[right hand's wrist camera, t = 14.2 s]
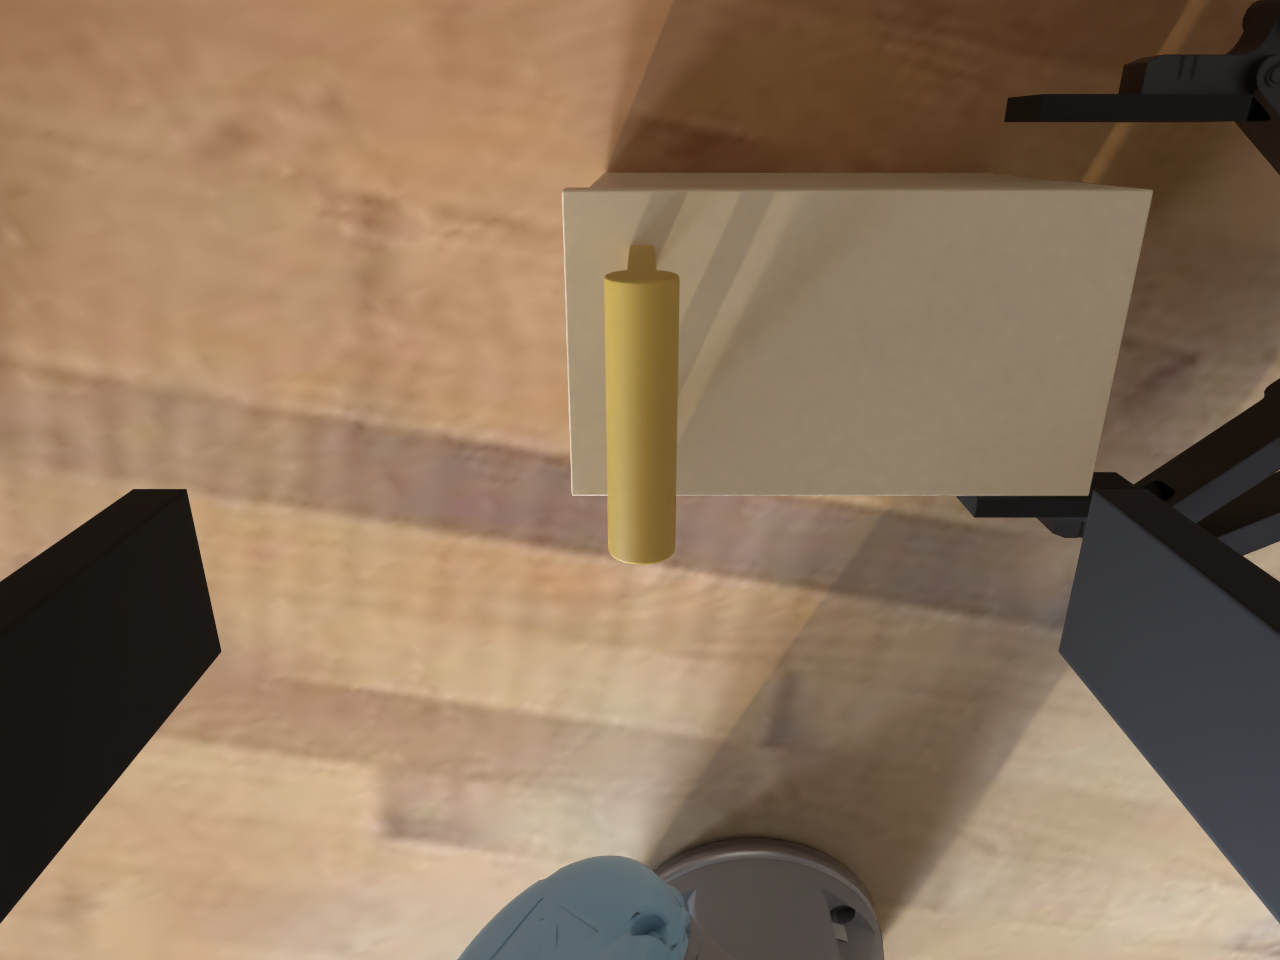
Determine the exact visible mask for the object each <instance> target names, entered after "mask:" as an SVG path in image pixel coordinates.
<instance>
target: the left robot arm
mask: <svg viewBox="0 0 1280 960" xmlns="http://www.w3.org/2000/svg"><path fill="white" fill-rule="evenodd" d="M1242 27H1243V30H1244V32H1243V34H1242V36H1241V38H1240V39H1239V41H1238V43H1237V44H1236V45H1235V47H1234V48H1233V49H1232V50H1231V51H1230V52H1228V53H1227V54H1225V55H1159V56H1153V57H1146V58H1140V59H1138V60H1136V61H1133V62H1131V63H1128V64H1126V65H1124V68H1123V73H1122V78H1121V83H1120V89H1119V94H1041V95H1031V96H1022V97H1013V98H1008V101H1007V108H1006V114H1005V121H1004V122H1221V121H1234V122H1235V123H1236V124H1237V125H1238V126H1239V127H1240V129H1241V130H1242V131H1243V132H1244V133H1245V135H1246V136H1247V137H1248V138H1249V139H1250V140H1251V142H1252V143H1253V144H1254V145H1255V146H1256V148H1257V149H1258V150H1259V151H1260V152H1261V153H1262V155H1263V156H1264V157H1265V158H1266V159H1267V161H1268V162H1269V163H1270V164H1271V165H1272V166H1273V168H1274V169H1275V170H1276V171H1277V172H1278V174H1279V175H1280V0H1258V1H1257V2H1255V3H1253V4H1252V5H1251V6H1250V7H1249V8H1248V9H1247V11H1246V13H1245V15H1244V17H1243V24H1242ZM1278 470H1280V379H1278V380H1277V381H1275V382H1273V383H1272V384H1270V385H1269V386H1268V387H1267V388H1266V389H1265V391H1264V398H1263V399H1262V400H1261V401H1259V402H1258V403H1256V404H1255V405H1253V406H1252V407H1250V408H1249V409H1247V410H1246V411H1244V412H1243V413H1241V414H1240V415H1238V416H1237V417H1235V418H1233V419H1232V420H1230V421H1229V422H1227V423H1226V424H1224V425H1223V426H1221V427H1220V428H1218V429H1217V430H1215V431H1214V432H1212V433H1211V434H1209V435H1208V436H1206V437H1205V438H1203V439H1202V440H1200V441H1199V442H1197V443H1196V444H1194V445H1193V446H1191V447H1190V448H1188V449H1187V450H1185V451H1184V452H1182V453H1181V454H1179V455H1178V456H1176V457H1175V458H1173V459H1172V460H1170V461H1169V462H1167V463H1166V464H1164V465H1163V466H1161V467H1159V468H1158V469H1156V470H1155V471H1153V472H1152V473H1150V474H1149V475H1147V476H1146V477H1144V478H1143V479H1141V480H1140V481H1138V482H1137V483H1135V484H1134V485H1133V484H1132V483H1130V482H1129V481H1127V480H1126V479H1125V478H1123V477H1122V476H1120V475H1119V474H1118V473H1116V472H1093V477H1092V481H1091V486H1090V491H1089V495H1088V496H956V497H957V498H958V499H959V500H960V501H961V503H962V504H963V505H964V506H965V507H966V508H967V509H968V511H969V512H970V513H971V514H972V515H973V516H974V517H1037V519H1038V520H1039V521H1040V522H1042V523H1043V524H1044V525H1045V526H1046V527H1047V528H1048V529H1049V530H1050V531H1051V532H1052V533H1054V534H1056V535H1059V536H1061V537H1064V538H1078V537H1081V538H1083V536H1084V531H1085V527H1086V522H1087V517H1088V513H1089V508H1090V503H1091V499H1092V494H1093V489H1147V490H1148V491H1150V492H1151V493H1153V494H1154V495H1156V496H1157V497H1158V498H1160V499H1161V500H1163V501H1164V502H1166V503H1167V504H1168V505H1170V506H1171V507H1173V508H1174V509H1176V510H1177V511H1179V512H1180V513H1181V514H1183V515H1184V516H1186V517H1187V518H1189V519H1190V520H1192V521H1193V522H1194V523H1196V524H1197V525H1199V526H1200V527H1202V528H1203V529H1204V530H1206V531H1207V532H1209V533H1210V534H1212V535H1213V536H1215V537H1216V538H1217V539H1219V540H1220V541H1222V542H1223V543H1225V544H1226V545H1227V546H1229V547H1230V548H1232V549H1233V550H1235V551H1236V552H1238V553H1239V554H1240V555H1242V556H1243V555H1246V554H1248V553H1251V552H1253V551H1256V550H1258V549H1261V548H1263V547H1266V546H1268V545H1271V544H1273V543H1276V542H1279V541H1280V471H1279V472H1277V471H1278ZM1275 472H1276V473H1275ZM457 960H884V952H883V940H882V935H881V930H880V927H879V923H878V920H877V917H876V913H875V910H874V907H873V904H872V901H871V899H870V897H869V895H868V893H867V891H866V890H865V888H864V887H863V885H862V884H861V883H860V882H859V880H858V879H857V878H856V877H855V876H854V875H853V874H852V873H851V872H850V871H849V870H848V869H847V868H845V867H844V866H843V865H841V864H840V863H839V862H837V861H836V860H834V859H832V858H831V857H829V856H827V855H825V854H823V853H821V852H819V851H817V850H814V849H811V848H809V847H806V846H803V845H799V844H796V843H792V842H787V841H782V840H774V839H762V838H745V839H733V840H725V841H720V842H715V843H711V844H707V845H704V846H700V847H697V848H695V849H692V850H689V851H687V852H685V853H682V854H680V855H678V856H676V857H674V858H672V859H671V860H669V861H667V862H666V863H664V864H663V865H661V866H660V867H658V868H657V869H656V870H654V871H652V870H651V869H650V868H648V867H647V866H645V865H644V864H642V863H640V862H639V861H636V860H633V859H631V858H626V857H622V856H598V857H592V858H588V859H584V860H581V861H578V862H575V863H572V864H569V865H567V866H565V867H563V868H561V869H559V870H558V871H557V872H555V873H554V874H552V875H551V876H549V877H548V878H546V879H543V880H539V881H538V882H536V883H535V884H533V885H532V886H530V887H529V888H527V889H526V890H525V891H523V892H522V893H521V894H520V895H518V896H517V897H516V898H515V899H513V900H512V901H511V902H510V903H509V904H507V905H506V906H505V907H504V908H503V909H502V910H501V911H500V912H499V913H498V914H497V915H496V916H495V917H494V918H493V919H492V920H491V921H490V922H489V923H488V924H487V925H486V926H485V927H484V928H483V929H482V930H481V931H480V932H479V934H478V935H477V936H476V937H475V938H474V939H473V940H472V942H471V943H470V944H469V945H468V947H467V948H466V949H465V950H464V952H463V953H462V954H461V956H460V957H459V958H458V959H457Z"/></svg>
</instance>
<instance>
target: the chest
mask: <svg viewBox="0 0 1280 960" xmlns="http://www.w3.org/2000/svg"><path fill="white" fill-rule="evenodd" d="M590 188H1129V187H1120V186H1111V185H1101V184H1091V183H1082V182H1072V181H1062V180H1052V179H1043V178H1033V177H1023V176H1014V175H1004V174H993V173H604V174H603V175H602V176H601V177H600V178H599V179H598V180H597V181H596V182H595V183H594V184H593V185H592V186H591V187H590Z"/></svg>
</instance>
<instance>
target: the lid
mask: <svg viewBox="0 0 1280 960" xmlns="http://www.w3.org/2000/svg"><path fill="white" fill-rule="evenodd" d="M1152 195H1153V190H1150V189H1140V188H565V189H564V190H562V210H563V241H564V271H565V302H566V333H567V364H568V395H569V425H570V456H571V487H572V495H595V496H607V497H608V549H609V552H610V554H611V555H612V556H613V557H614V558H615V559H617V560H619V561H622V562H625V563H630V564H640V565H643V564H654V563H658V562H662V561H664V560H666V559H668V558H669V557H671V556H672V554H673V553H674V551H675V527H676V496H1088V495H1089V491H1090V486H1091V481H1092V477H1093V472H1094V467H1095V463H1096V458H1097V453H1098V449H1099V444H1100V439H1101V434H1102V430H1103V425H1104V420H1105V416H1106V411H1107V406H1108V402H1109V397H1110V392H1111V388H1112V383H1113V378H1114V373H1115V369H1116V364H1117V359H1118V355H1119V350H1120V345H1121V341H1122V336H1123V331H1124V327H1125V322H1126V317H1127V313H1128V308H1129V303H1130V298H1131V294H1132V289H1133V284H1134V280H1135V275H1136V270H1137V266H1138V261H1139V256H1140V252H1141V247H1142V242H1143V238H1144V233H1145V228H1146V223H1147V219H1148V214H1149V209H1150V205H1151V200H1152Z"/></svg>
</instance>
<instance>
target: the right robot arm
mask: <svg viewBox="0 0 1280 960" xmlns="http://www.w3.org/2000/svg"><path fill="white" fill-rule="evenodd" d="M220 653H221V648H220V643H219V638H218V634H217V629H216V624H215V620H214V615H213V610H212V606H211V601H210V596H209V592H208V587H207V582H206V578H205V573H204V569H203V564H202V559H201V555H200V550H199V545H198V541H197V536H196V531H195V527H194V522H193V517H192V513H191V508H190V503H189V499H188V494H187V489H133V490H132V491H130V492H129V493H127V494H126V495H124V496H123V497H122V498H120V499H119V500H117V501H116V502H114V503H113V504H112V505H110V506H109V507H107V508H106V509H104V510H103V511H101V512H100V513H99V514H97V515H96V516H94V517H93V518H91V519H90V520H88V521H87V522H86V523H84V524H83V525H81V526H80V527H78V528H77V529H76V530H74V531H73V532H71V533H70V534H68V535H67V536H65V537H64V538H63V539H61V540H60V541H58V542H57V543H55V544H54V545H53V546H51V547H50V548H48V549H47V550H45V551H44V552H42V553H41V554H40V555H38V556H37V557H35V558H34V559H32V560H31V561H30V562H28V563H27V564H25V565H24V566H22V567H21V568H19V569H18V570H17V571H15V572H14V573H12V574H11V575H9V576H8V577H7V578H5V579H4V580H2V581H1V582H0V923H1V922H2V921H3V920H4V918H5V917H6V916H7V915H8V913H9V912H10V911H11V910H12V908H13V907H14V906H15V905H16V904H17V902H18V901H19V900H20V899H21V897H22V896H23V895H24V894H25V892H26V891H27V890H28V889H29V888H30V886H31V885H32V884H33V883H34V881H35V880H36V879H37V878H38V876H39V875H40V874H41V873H42V872H43V870H44V869H45V868H46V867H47V865H48V864H49V863H50V862H51V860H52V859H53V858H54V857H55V856H56V854H57V853H58V852H59V851H60V849H61V848H62V847H63V846H64V845H65V843H66V842H67V841H68V840H69V838H70V837H71V836H72V835H73V833H74V832H75V831H76V830H77V829H78V827H79V826H80V825H81V824H82V822H83V821H84V820H85V819H86V817H87V816H88V815H89V814H90V813H91V811H92V810H93V809H94V808H95V806H96V805H97V804H98V803H99V801H100V800H101V799H102V798H103V797H104V795H105V794H106V793H107V792H108V790H109V789H110V788H111V787H112V786H113V784H114V783H115V782H116V781H117V779H118V778H119V777H120V776H121V774H122V773H123V772H124V771H125V770H126V768H127V767H128V766H129V765H130V763H131V762H132V761H133V760H134V758H135V757H136V756H137V755H138V754H139V752H140V751H141V750H142V749H143V747H144V746H145V745H146V744H147V742H148V741H149V740H150V739H151V738H152V736H153V735H154V734H155V733H156V731H157V730H158V729H159V728H160V726H161V725H162V724H163V723H164V722H165V720H166V719H167V718H168V717H169V715H170V714H171V713H172V712H173V711H174V709H175V708H176V707H177V706H178V704H179V703H180V702H181V701H182V699H183V698H184V697H185V696H186V695H187V693H188V692H189V691H190V690H191V688H192V687H193V686H194V685H195V683H196V682H197V681H198V680H199V679H200V677H201V676H202V675H203V674H204V672H205V671H206V670H207V669H208V667H209V666H210V665H211V664H212V663H213V661H214V660H215V659H216V658H217V656H218V655H219V654H220ZM1059 653H1060V654H1061V655H1062V656H1063V658H1064V659H1065V660H1066V661H1067V663H1068V664H1069V665H1070V666H1071V667H1072V669H1073V670H1074V671H1075V672H1076V674H1077V675H1078V676H1079V677H1080V679H1081V680H1082V681H1083V682H1084V683H1085V685H1086V686H1087V687H1088V688H1089V690H1090V691H1091V692H1092V693H1093V695H1094V696H1095V697H1096V698H1097V699H1098V701H1099V702H1100V703H1101V704H1102V706H1103V707H1104V708H1105V709H1106V711H1107V712H1108V713H1109V714H1110V715H1111V717H1112V718H1113V719H1114V720H1115V722H1116V723H1117V724H1118V725H1119V726H1120V728H1121V729H1122V730H1123V731H1124V733H1125V734H1126V735H1127V736H1128V738H1129V739H1130V740H1131V741H1132V742H1133V744H1134V745H1135V746H1136V747H1137V749H1138V750H1139V751H1140V752H1141V754H1142V755H1143V756H1144V757H1145V758H1146V760H1147V761H1148V762H1149V763H1150V765H1151V766H1152V767H1153V768H1154V770H1155V771H1156V772H1157V773H1158V774H1159V776H1160V777H1161V778H1162V779H1163V781H1164V782H1165V783H1166V784H1167V786H1168V787H1169V788H1170V789H1171V790H1172V792H1173V793H1174V794H1175V795H1176V797H1177V798H1178V799H1179V800H1180V801H1181V803H1182V804H1183V805H1184V806H1185V808H1186V809H1187V810H1188V811H1189V813H1190V814H1191V815H1192V816H1193V817H1194V819H1195V820H1196V821H1197V822H1198V824H1199V825H1200V826H1201V827H1202V829H1203V830H1204V831H1205V832H1206V833H1207V835H1208V836H1209V837H1210V838H1211V840H1212V841H1213V842H1214V843H1215V845H1216V846H1217V847H1218V848H1219V849H1220V851H1221V852H1222V853H1223V854H1224V856H1225V857H1226V858H1227V859H1228V861H1229V862H1230V863H1231V864H1232V865H1233V867H1234V868H1235V869H1236V870H1237V872H1238V873H1239V874H1240V875H1241V876H1242V878H1243V879H1244V880H1245V881H1246V883H1247V884H1248V885H1249V886H1250V888H1251V889H1252V890H1253V891H1254V892H1255V894H1256V895H1257V896H1258V897H1259V899H1260V900H1261V901H1262V902H1263V904H1264V905H1265V906H1266V907H1267V908H1268V910H1269V911H1270V912H1271V913H1272V915H1273V916H1274V917H1275V918H1276V920H1277V921H1278V922H1279V923H1280V582H1279V581H1278V580H1276V579H1275V578H1273V577H1272V576H1271V575H1269V574H1268V573H1266V572H1265V571H1263V570H1262V569H1261V568H1259V567H1258V566H1256V565H1255V564H1253V563H1252V562H1250V561H1249V560H1248V559H1246V558H1245V557H1243V556H1242V555H1240V554H1239V553H1238V552H1236V551H1235V550H1233V549H1232V548H1230V547H1229V546H1227V545H1226V544H1225V543H1223V542H1222V541H1220V540H1219V539H1217V538H1216V537H1215V536H1213V535H1212V534H1210V533H1209V532H1207V531H1206V530H1204V529H1203V528H1202V527H1200V526H1199V525H1197V524H1196V523H1194V522H1193V521H1192V520H1190V519H1189V518H1187V517H1186V516H1184V515H1183V514H1181V513H1180V512H1179V511H1177V510H1176V509H1174V508H1173V507H1171V506H1170V505H1168V504H1167V503H1166V502H1164V501H1163V500H1161V499H1160V498H1158V497H1157V496H1156V495H1154V494H1153V493H1151V492H1150V491H1148V490H1147V489H1093V494H1092V499H1091V503H1090V508H1089V513H1088V517H1087V522H1086V527H1085V531H1084V536H1083V541H1082V545H1081V550H1080V555H1079V559H1078V564H1077V569H1076V573H1075V578H1074V582H1073V587H1072V592H1071V596H1070V601H1069V606H1068V610H1067V615H1066V620H1065V624H1064V629H1063V634H1062V638H1061V643H1060V648H1059Z"/></svg>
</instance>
